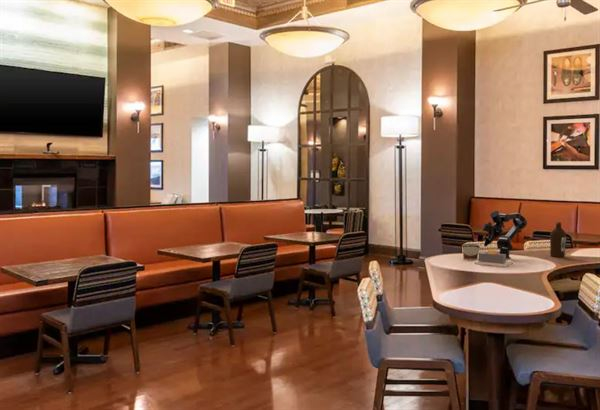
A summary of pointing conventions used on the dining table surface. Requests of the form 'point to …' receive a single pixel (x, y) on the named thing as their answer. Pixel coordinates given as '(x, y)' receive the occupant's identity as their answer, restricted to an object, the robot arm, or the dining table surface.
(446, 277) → the dining table surface
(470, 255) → the food container
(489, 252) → the amber key
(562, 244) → the olive oil
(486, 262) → the grey block on base
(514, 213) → the robot arm
